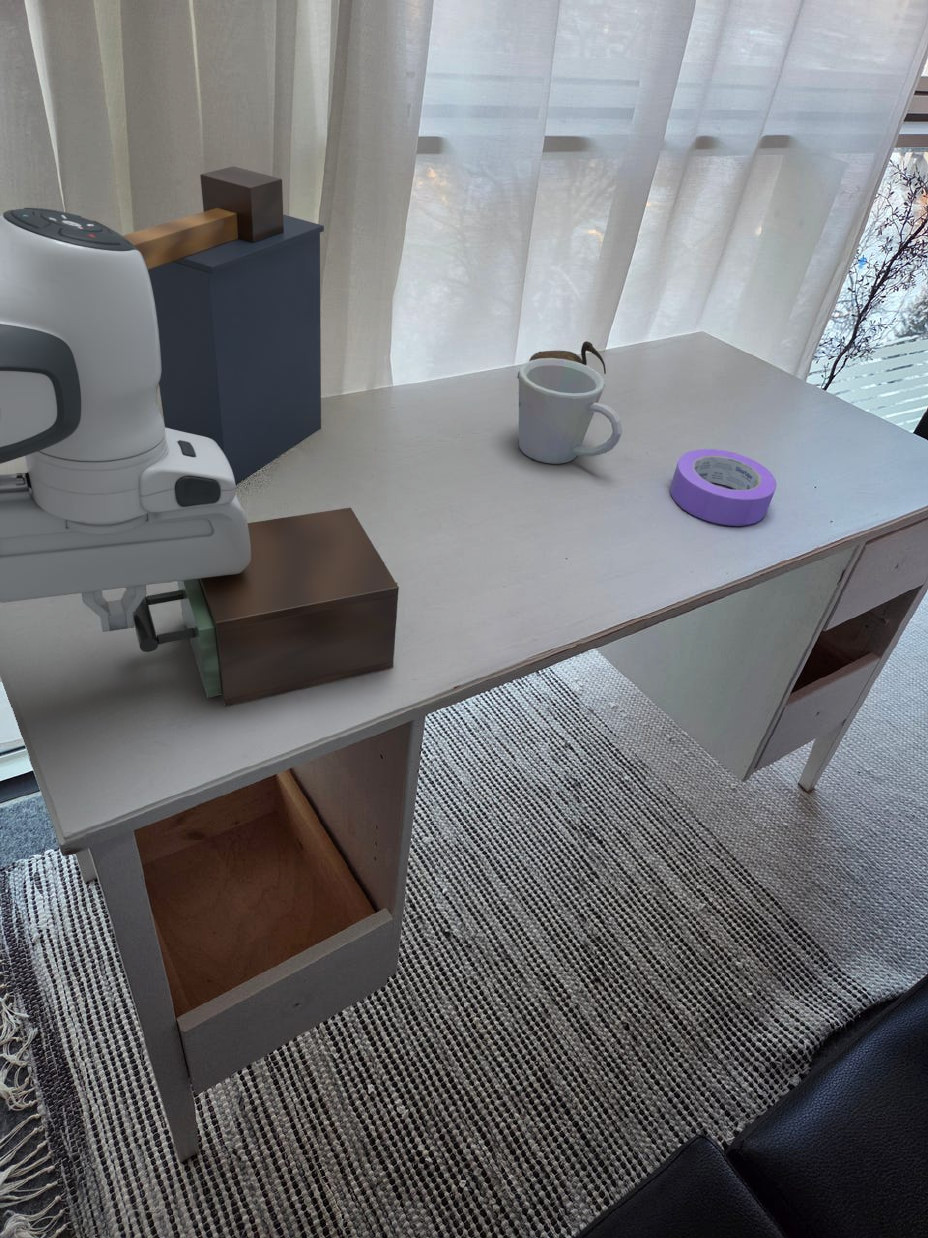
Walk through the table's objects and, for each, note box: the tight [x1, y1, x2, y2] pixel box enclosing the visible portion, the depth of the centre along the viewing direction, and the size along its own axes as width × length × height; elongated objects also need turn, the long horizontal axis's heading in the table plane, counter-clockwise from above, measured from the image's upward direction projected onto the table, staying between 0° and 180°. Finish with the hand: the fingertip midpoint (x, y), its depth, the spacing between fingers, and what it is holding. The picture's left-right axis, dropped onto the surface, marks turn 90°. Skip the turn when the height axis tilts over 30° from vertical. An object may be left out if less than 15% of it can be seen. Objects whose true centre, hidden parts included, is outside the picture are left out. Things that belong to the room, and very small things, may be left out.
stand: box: [148, 213, 325, 486], centre depth 92 cm, size 18×9×24 cm, turn 153°
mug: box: [518, 358, 623, 465], centre depth 102 cm, size 10×15×10 cm
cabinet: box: [199, 507, 400, 708], centre depth 72 cm, size 15×12×9 cm
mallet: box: [122, 166, 284, 270], centre depth 78 cm, size 21×6×5 cm, turn 153°
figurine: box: [517, 340, 607, 378], centre depth 117 cm, size 14×4×9 cm, turn 40°
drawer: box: [133, 579, 222, 698], centre depth 70 cm, size 18×11×7 cm, turn 114°
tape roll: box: [669, 448, 777, 527], centre depth 100 cm, size 12×12×4 cm
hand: (117, 625), depth 66 cm, fingers closed, pressing on drawer
